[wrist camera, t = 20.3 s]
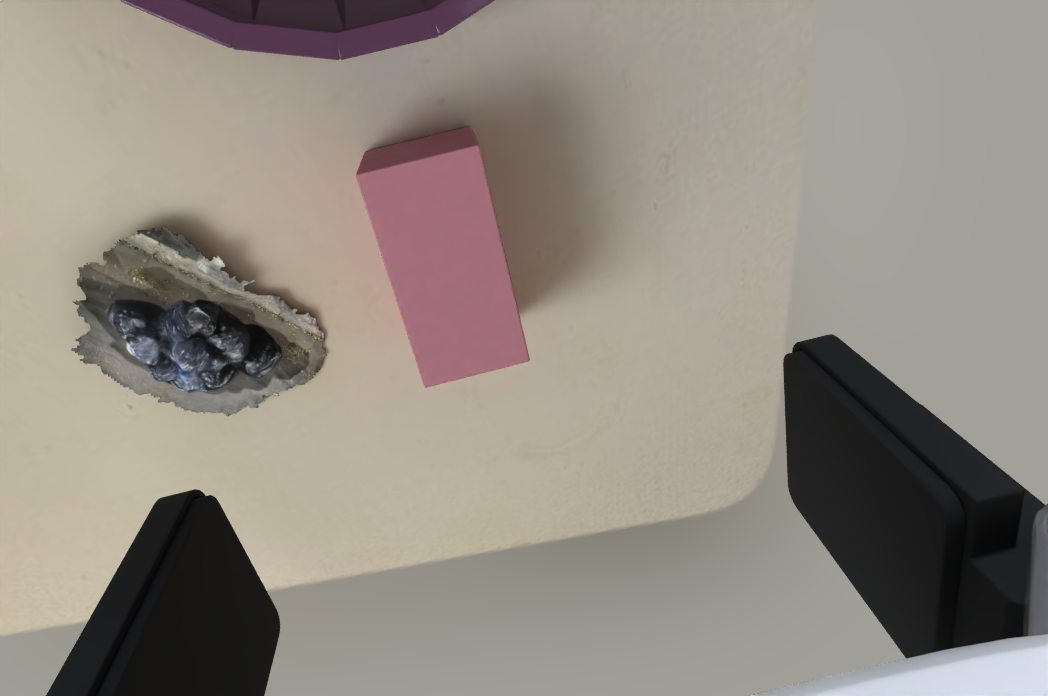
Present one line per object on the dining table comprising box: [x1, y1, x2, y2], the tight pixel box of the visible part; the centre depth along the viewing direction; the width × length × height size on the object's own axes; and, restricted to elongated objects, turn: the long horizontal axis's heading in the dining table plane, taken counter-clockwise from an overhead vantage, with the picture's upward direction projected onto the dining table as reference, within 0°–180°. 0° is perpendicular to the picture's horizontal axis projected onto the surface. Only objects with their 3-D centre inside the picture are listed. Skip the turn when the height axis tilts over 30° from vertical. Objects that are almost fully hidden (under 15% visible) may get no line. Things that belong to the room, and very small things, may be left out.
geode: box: [71, 226, 327, 416], centre depth 23 cm, size 7×8×2 cm
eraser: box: [356, 126, 530, 388], centre depth 22 cm, size 7×4×4 cm, turn 12°
